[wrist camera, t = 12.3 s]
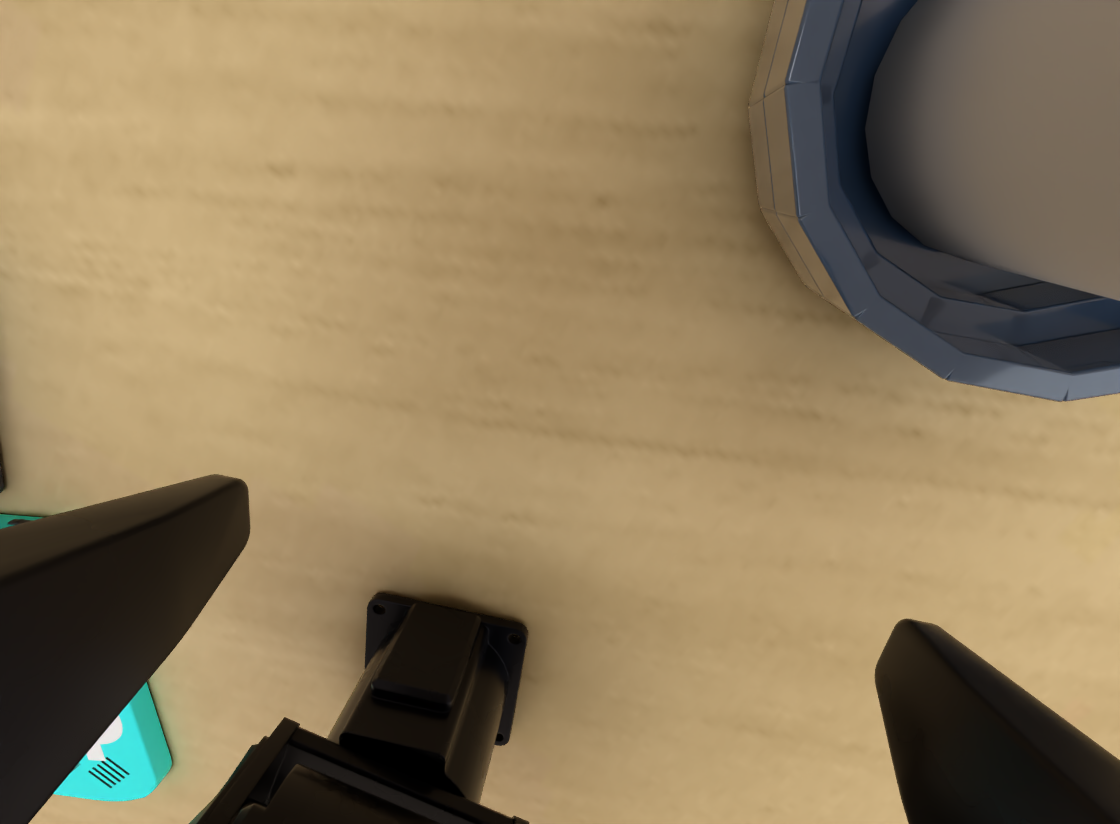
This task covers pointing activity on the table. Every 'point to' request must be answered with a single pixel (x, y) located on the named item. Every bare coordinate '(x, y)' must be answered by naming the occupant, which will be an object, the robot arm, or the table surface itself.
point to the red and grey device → (1, 480)
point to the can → (1005, 135)
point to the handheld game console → (118, 746)
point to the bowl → (881, 242)
